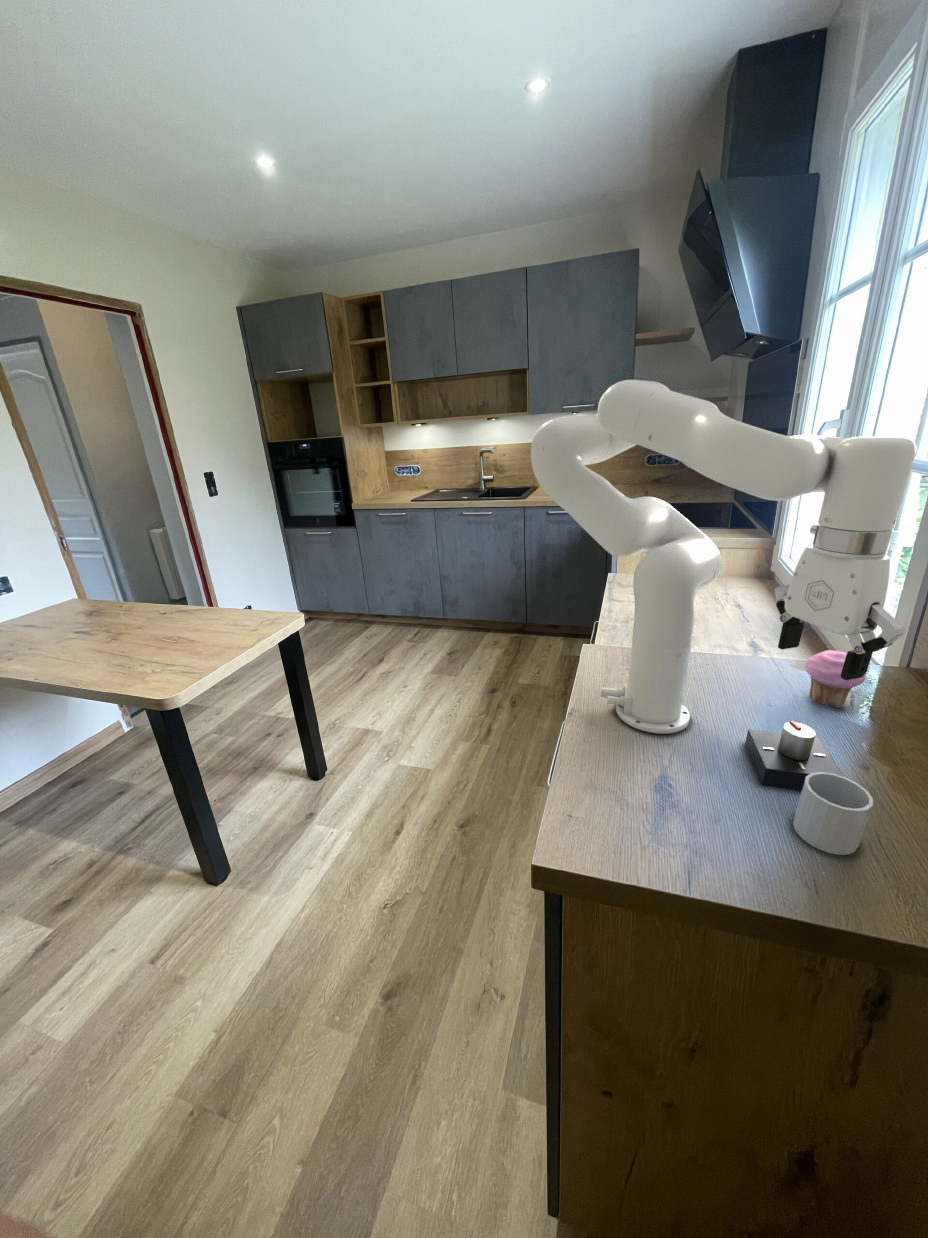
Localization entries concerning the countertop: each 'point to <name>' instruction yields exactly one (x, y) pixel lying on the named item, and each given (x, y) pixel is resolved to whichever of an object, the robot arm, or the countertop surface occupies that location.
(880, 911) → the countertop surface
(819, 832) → the pot
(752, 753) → the panel
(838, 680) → the cupcake
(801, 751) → the oven knob
